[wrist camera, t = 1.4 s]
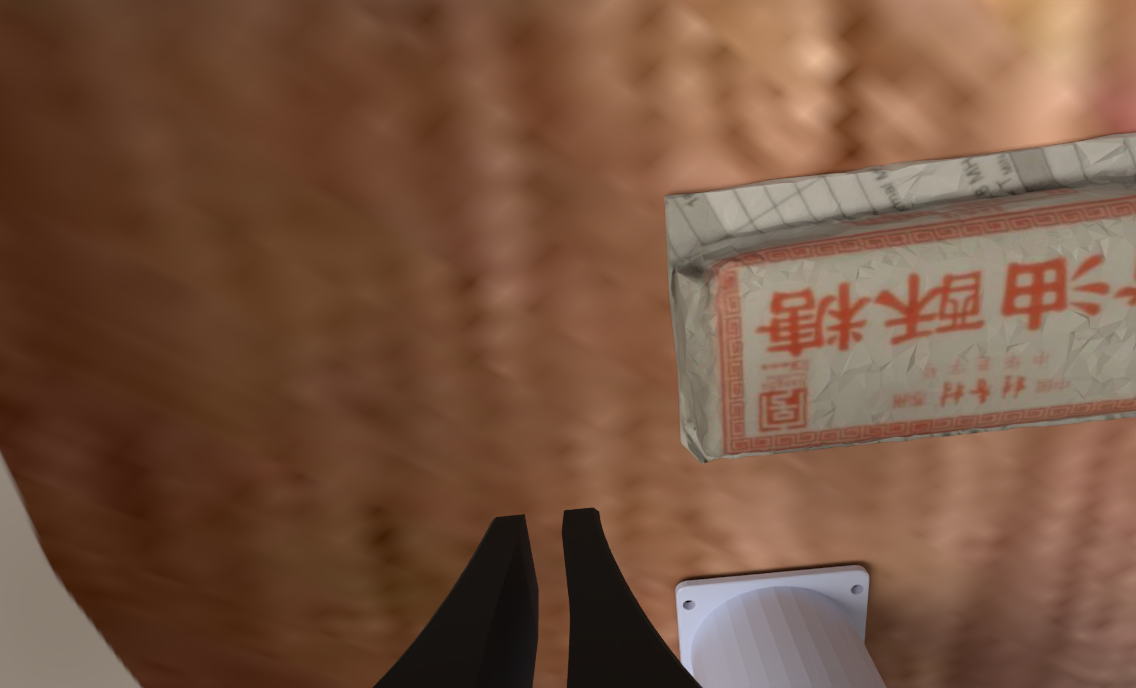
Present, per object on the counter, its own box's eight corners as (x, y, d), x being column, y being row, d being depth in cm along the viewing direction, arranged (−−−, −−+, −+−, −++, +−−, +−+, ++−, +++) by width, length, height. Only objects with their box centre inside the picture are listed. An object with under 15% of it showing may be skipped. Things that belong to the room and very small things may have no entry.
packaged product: (701, 524, 20) (681, 220, 17) (677, 445, 25) (658, 190, 21) (1288, 463, 19) (1410, 124, 16) (1153, 392, 24) (1222, 115, 20)
